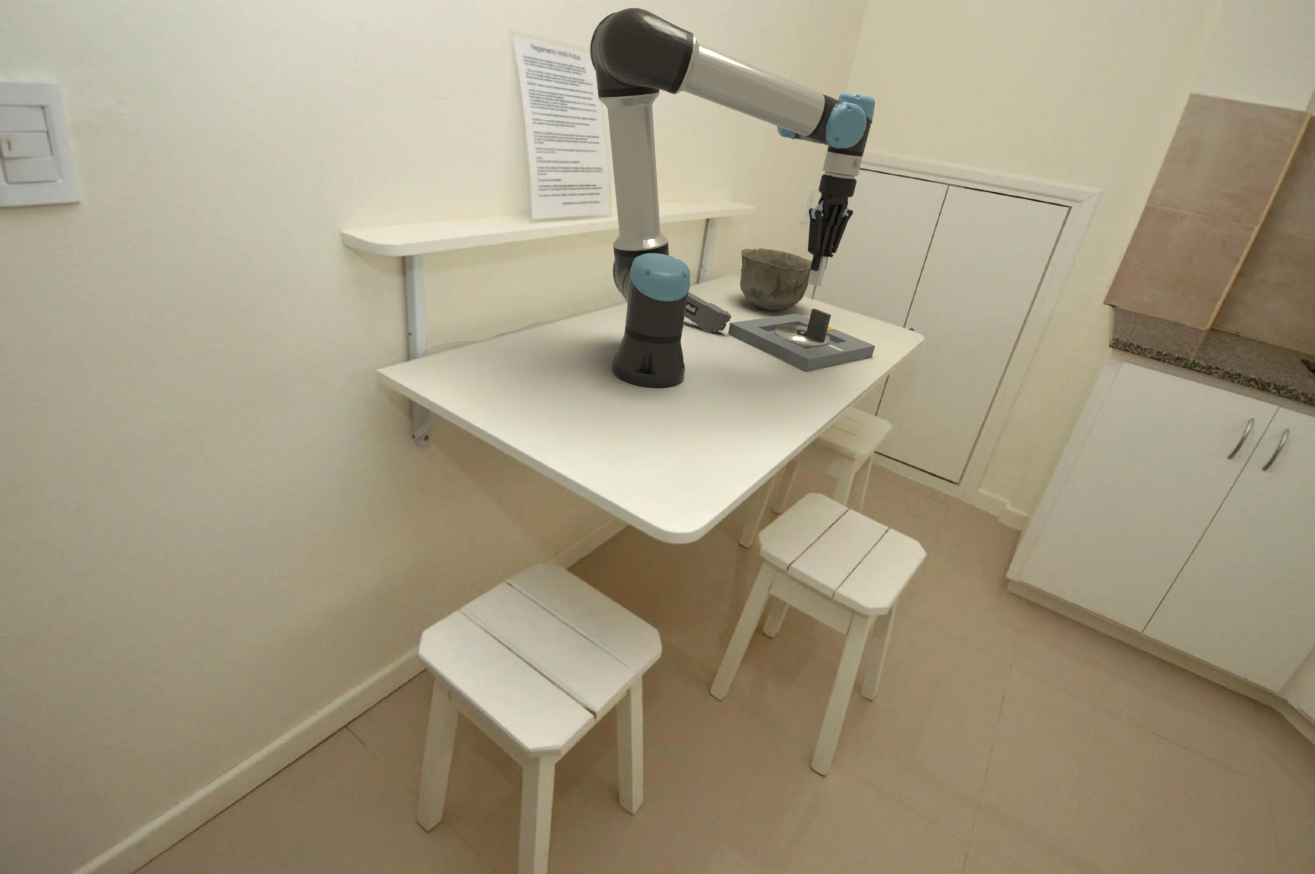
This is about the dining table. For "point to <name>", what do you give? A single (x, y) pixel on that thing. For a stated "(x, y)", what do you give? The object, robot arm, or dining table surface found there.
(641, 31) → the robot arm
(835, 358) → the panel
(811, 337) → the dial
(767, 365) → the dining table surface
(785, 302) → the bowl
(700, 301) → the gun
